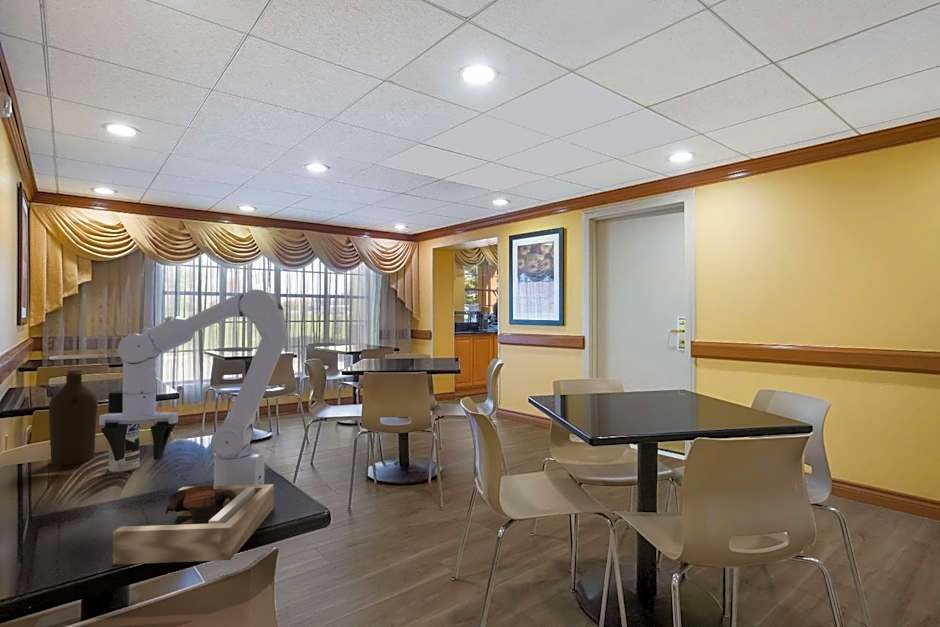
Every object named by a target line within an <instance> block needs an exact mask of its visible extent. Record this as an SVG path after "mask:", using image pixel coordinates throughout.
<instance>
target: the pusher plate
mask: <svg viewBox="0 0 940 627" xmlns="http://www.w3.org/2000/svg"><path fill="white" fill-rule="evenodd" d="M253 496H255V487H247V488H246V489H245V490H244V491H242V492H241V493H240V494H239V495H238V496H237V497H235V498H234V499H233V500H232V501H231V502H230V503H229V504H227V505H226V506H225V507H224V508H223V509H222V510H221V511H219V512H218V513H217V514H216V515H215V516H214V517H213V518H211V519H210V520H209V524H216V523H226V522H227V521H228V520H229V519H230V518H231V517H233V516H234V515H235V514H236V513H237V512H238V511H239V510H240V509H241V508H242V507H243V506H244V505H245V504H246V503H247V502H248V501H249V500H250V499H251V498H252V497H253Z"/></svg>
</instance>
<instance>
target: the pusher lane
mask: <svg viewBox="0 0 940 627" xmlns="http://www.w3.org/2000/svg"><path fill="white" fill-rule="evenodd" d="M274 484H275V483H273V484H267V483H266V484H264V485H230V486H214V485H213V487H214V491H215V492H222V491H225V490H231V491H233V492H235V493H236V494H237V495H236V497H237V496H238V495H239V494H240V493H241V492H242V491H244V490H245V489H246V488H247V487H255V496H253V497H252V498H251V499H250V500H249V501H248V502H247V503H246V504H245V505H244V506H243V507H242V508H241V509H240V510H239V511H238V512H237V513H236V514H235V515H234V516H233V517H231V518H230V519H229V520H228V521H227V522H226V523H216V524H186V525H181V524H163V525H162V524H161V525H160V524H159V525H133V526H132V525H131V526H130V525H129V526H120V527H118V528H117V529H115V530H114V531H112V566H113V565H136V564H160V563H162V564H164V563H165V564H166V563H185V562H187V563H188V562H215V561H217V562H218V561H230V560H231V559H232V558H234V556H235V555H236V554H237V553H238V552H239V550H241V548H242V547H243V546H244V545H245V543H246V542H247V541H248V540H249V539H250V538H251V537H252V536H253V534H254V533H255V532H256V530H257V529H258V528H259V527H260V526H261V524H262V523H263V522H264V520H266V518H267V517H268V516H269V515H270V513H271V512H272V511H273V509H275V502H274V501H275V491H274V490H275V485H274ZM191 487H192V486H182V487H181V488H178V489H177V492H178V491H181V490H184V489H188V488H191ZM212 502H213V503H215V498H214V499H212ZM229 502H230V499H229V498H226V499H225V501H224V503H223V507H225V506H226V505H227V504H229ZM176 513H177V515H176V516H177V517H192V516H191V513H190V511H180V512H176Z"/></svg>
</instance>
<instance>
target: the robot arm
mask: <svg viewBox="0 0 940 627" xmlns="http://www.w3.org/2000/svg"><path fill="white" fill-rule="evenodd" d="M284 311H285V310H284V307H283V305H282V303H281V302H280V300H279V299H278V297H277V296H276V295H275V294H273V293H271V292H269V291H268V292H267V291H264V290H261V289H258V288H257V289H251V290H248V291H246V292H245V293H239V294H237V295H233V296H231V297H229V298H226V299H225V300H222V301H221V302H219V303H216V304H214V305H213V306H210V307H209V308H205V309H204V310H202V311H200V312H198V313H196V314H194V315H192V316H190V317H188V318H184V317H181V316H179V315H178V316H175V317H174V316H167V317H164V318H163V320H164V321H163V322H162V323H159V324H157V325H155V326H152V327H151V328H149V327H144V328H142V329H141V331H142V332H141V334H140V333H130V334H127V335H126V336H125V337H123V338H122V339H121V340H120V341H119V343H118V344H117V345H118V346H117V353H118V356H119V358H121V359H122V361H123V362H122V363H123V364H122V369H123V370H122V391H123V413H117V414H108V413H104V414H100V415H99V418H98V420H99V422H98V424H99V426H104V427H102V428H101V430H100V431H101V433H102V435H104V437H105V439H106V440H107V442H109V444H110V446H111V449H112V452H113V455H114V459H115V461H119V460H121V459H123V458H124V456H125V438H126V432H127V428H128V424H154V425H152V426H150V431H151V435H152V442H153V452H152V454H153V455H152V456H153V460H154V461H156V460H157V461H158V460H161V459H162V458H163V457H164V452H165V448H166V445H167V442H168V440H169V437H170V436H171V433H172V432H173V430H174V428H175V426H176V423H178V422H179V412H165V411H156V408H157V407H156V404H157V403H156V402H157V391H156V390H157V385H156V384H157V382H156V381H157V369H156V368H157V367H156V366H157V365H156V364H157V363H156V361H157V358H159V356H160V354H161V355H163V354H164V353H166V352H168V351H172V350H174V349H175V348H178V347H180V346H182V345H184V344H186V343H189V342H191V341H192V340H193V337H194V335H195V333H196V332H198V331H201V330H203V329H206V328H207V327H210V326H213V325H216V324H217V323H218V324H219V323H220V322H222V321H225V320H228V319H230V318H246V319H248V320H249V321H250V322H251V323H252V324H253V325H254V327H255V328H256V330H257V332H258V334H259V336H260V341H259V343H258V346H257V348H256V351H255V353H254V356H253V359H252V360H251V363H250V365H249V368H248V370H247V373H246V375H245V377H244V380H243V382H242V383H241V386H240V389H239V391H238V394H237V396H236V398H235V400H234V403H233V404H232V407H231V410H230V411H229V412H228V413H227V416H226V417H225V419H224V421H223V423H222V425H221V426H220V427H219V428H218V429H217V430H216V431H215V432H214V433H213V434H212V436H211V438H210V440H211V441H210V446H211V450H212V451H213V453H214V454H213V461H214V462H213V486H230V485H265V459H264V456H263V454H260V453H254V452H252V451H253V450H252V448H251V446H250V445H249V444H250V443H251V441H252V440H253V438H254V434H255V431H254V424H255V422H256V418H257V411H258V410H259V407H260V404H261V402H262V399H263V398H264V395H265V392H266V391H267V388H268V385H269V383H270V380H271V378H272V376H273V373H274V371H275V368H276V366H277V364H278V362H279V359H280V357H281V354H282V352H283V350H284V347H285V345H286V342H287V340H288V336H289V334H288V329H287V324H286V320H285V319H286V318H285V312H284ZM135 420H140V421H135Z"/></svg>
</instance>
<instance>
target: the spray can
mask: <svg viewBox="0 0 940 627" xmlns="http://www.w3.org/2000/svg"><path fill="white" fill-rule="evenodd" d="M107 412H108V413H107V414H117V413H123V390H115V391H114V390H113V391H110V392H108V410H107ZM135 421H141V420H135ZM140 428H141V427H140V424H128V428H127V432H126V438H125V456H124V458H123V459H121V460H119V461H115V459H114V455H113V452H112V449H111V446H110V444H109V442H108V441H107V442H108V444H107V445H108V451H107V452H108V456H107V457H108V462H107V463H108V471H109V472H111V473H120V472H121V473H122V472H127V471H132V470H135V469H138V468H139V467H140V462H141V461H140V458H141V457H140V448H141V446H140V436H141V435H140V434H141V433H140Z"/></svg>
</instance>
